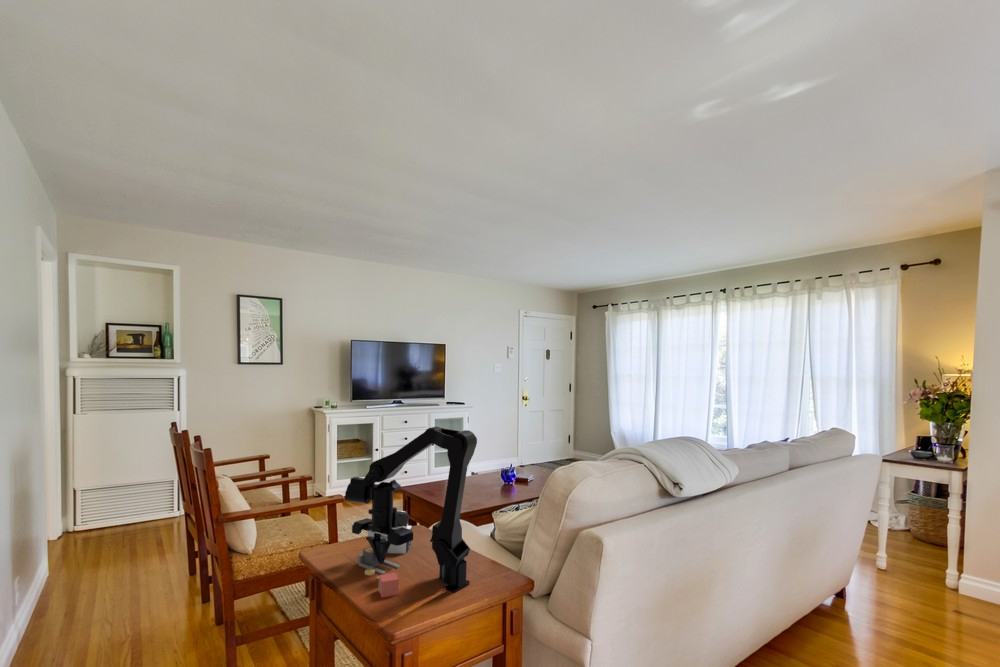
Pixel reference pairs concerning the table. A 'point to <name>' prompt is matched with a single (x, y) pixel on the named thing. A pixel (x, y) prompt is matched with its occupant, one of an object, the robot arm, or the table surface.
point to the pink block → (388, 585)
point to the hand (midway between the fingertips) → (381, 563)
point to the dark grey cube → (370, 557)
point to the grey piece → (372, 570)
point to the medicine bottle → (404, 547)
